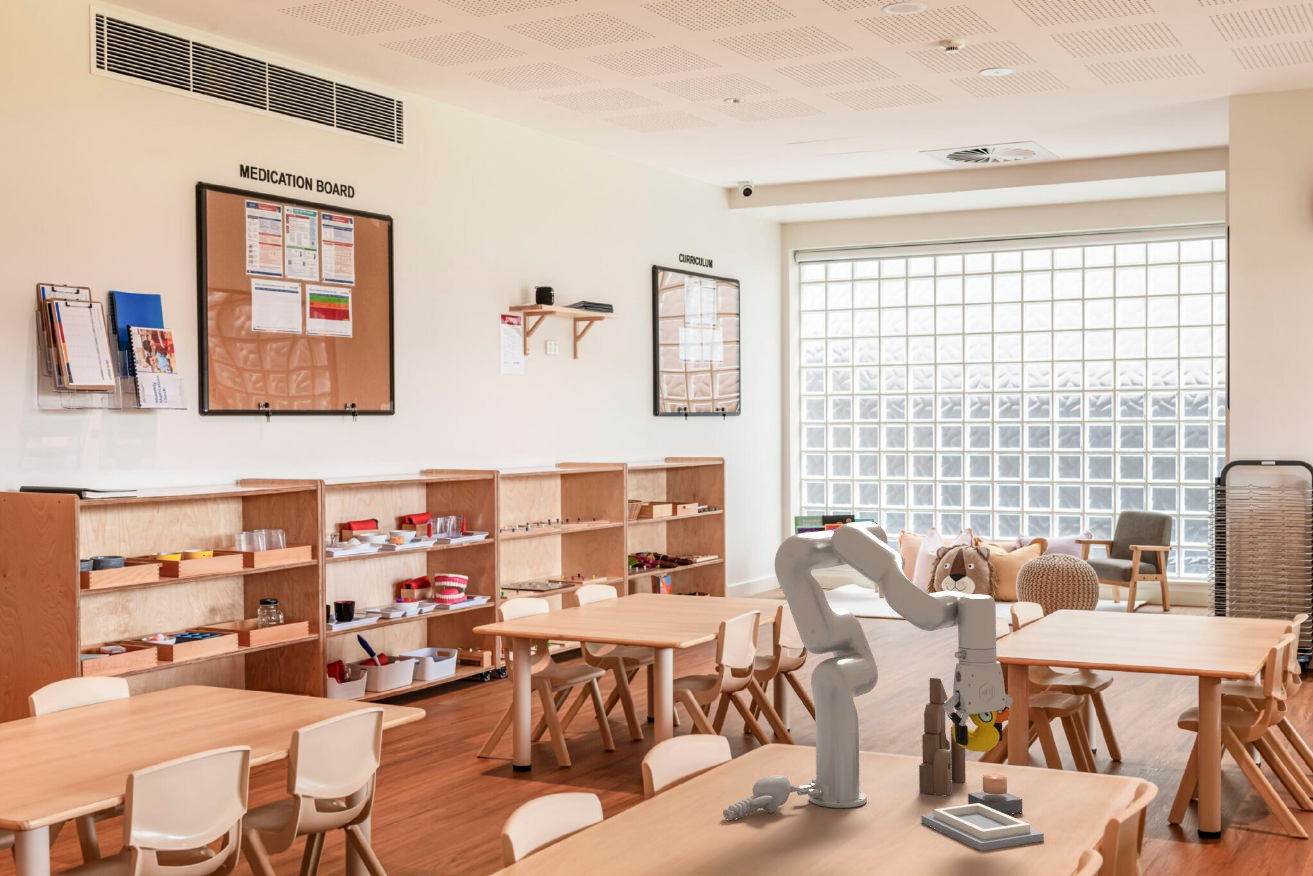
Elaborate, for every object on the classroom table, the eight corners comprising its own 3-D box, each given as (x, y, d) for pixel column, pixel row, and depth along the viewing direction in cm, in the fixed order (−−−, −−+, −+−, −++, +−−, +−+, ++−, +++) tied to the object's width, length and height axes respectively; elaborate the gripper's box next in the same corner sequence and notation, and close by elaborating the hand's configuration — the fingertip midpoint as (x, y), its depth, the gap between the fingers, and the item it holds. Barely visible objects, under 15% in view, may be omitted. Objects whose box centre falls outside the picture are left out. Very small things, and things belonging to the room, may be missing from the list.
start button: (992, 795, 262) (992, 781, 263) (978, 789, 267) (977, 775, 267) (1011, 792, 264) (1011, 778, 264) (997, 787, 269) (996, 773, 269)
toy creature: (704, 799, 265) (774, 770, 277) (716, 833, 264) (786, 802, 275) (737, 792, 255) (808, 762, 267) (749, 827, 254) (820, 795, 265)
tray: (981, 851, 239) (981, 835, 239) (921, 822, 257) (921, 808, 257) (1043, 841, 245) (1043, 825, 245) (980, 814, 263) (980, 799, 263)
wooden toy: (948, 797, 276) (947, 685, 276) (919, 793, 280) (917, 682, 280) (967, 780, 290) (966, 674, 290) (939, 777, 293) (937, 671, 293)
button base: (991, 817, 260) (991, 803, 261) (968, 807, 268) (968, 793, 268) (1022, 813, 264) (1022, 798, 264) (998, 803, 271) (998, 789, 271)
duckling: (1010, 750, 253) (1009, 701, 253) (1009, 756, 248) (1008, 706, 248) (953, 746, 256) (953, 698, 256) (951, 752, 251) (950, 703, 251)
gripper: (953, 661, 245) (954, 750, 245) (1024, 655, 252) (1025, 741, 251) (930, 656, 252) (932, 742, 252) (1000, 650, 259) (1001, 734, 258)
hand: (979, 741), depth 252 cm, fingers closed on duckling, 7 cm apart
